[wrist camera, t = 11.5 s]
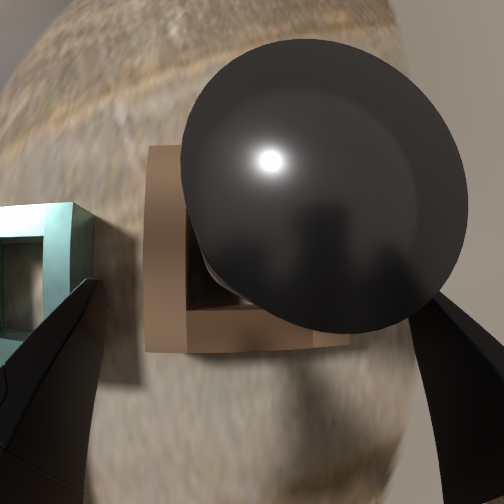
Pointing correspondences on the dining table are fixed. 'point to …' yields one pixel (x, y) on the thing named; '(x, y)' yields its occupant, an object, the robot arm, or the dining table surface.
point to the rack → (178, 283)
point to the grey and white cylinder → (323, 186)
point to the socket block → (48, 254)
